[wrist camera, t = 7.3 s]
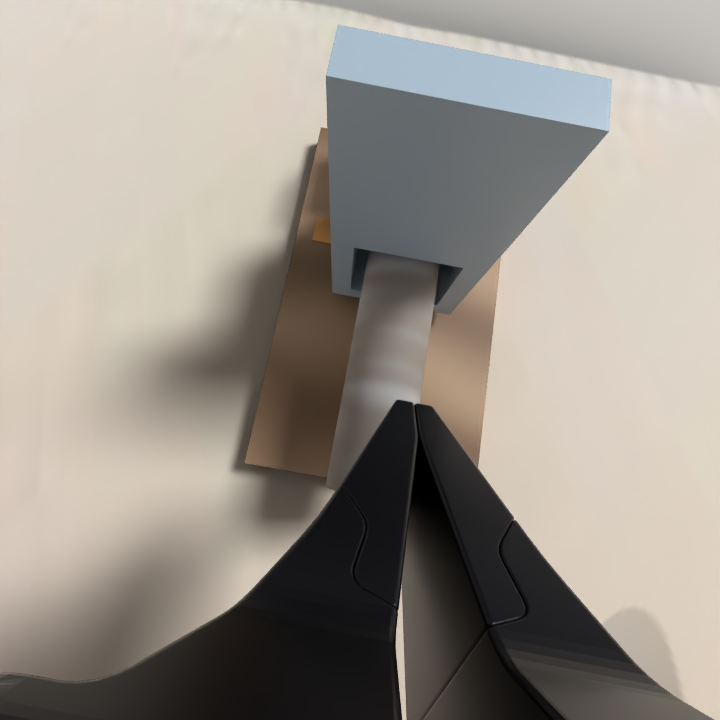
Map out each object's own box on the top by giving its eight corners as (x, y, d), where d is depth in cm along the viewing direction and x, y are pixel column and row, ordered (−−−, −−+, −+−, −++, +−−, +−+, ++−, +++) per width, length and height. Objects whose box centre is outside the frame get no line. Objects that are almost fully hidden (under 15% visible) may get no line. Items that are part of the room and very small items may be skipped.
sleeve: (450, 314, 18) (609, 131, 8) (332, 292, 18) (326, 75, 8) (457, 254, 19) (615, 6, 8) (344, 232, 19) (354, -46, 8)
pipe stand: (466, 500, 19) (527, 526, 13) (249, 461, 18) (208, 470, 12) (503, 176, 22) (564, 78, 16) (321, 141, 22) (316, 29, 16)
